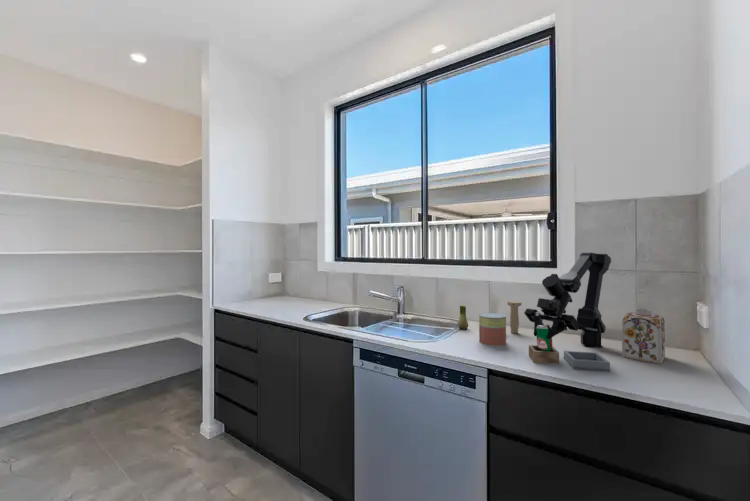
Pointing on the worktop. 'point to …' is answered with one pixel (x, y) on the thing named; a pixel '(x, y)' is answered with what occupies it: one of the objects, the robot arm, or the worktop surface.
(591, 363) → the tray
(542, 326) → the soda can
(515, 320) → the handle
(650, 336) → the decorative jar
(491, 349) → the worktop surface
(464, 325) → the fennel bulb
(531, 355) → the wooden box
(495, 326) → the canned food
